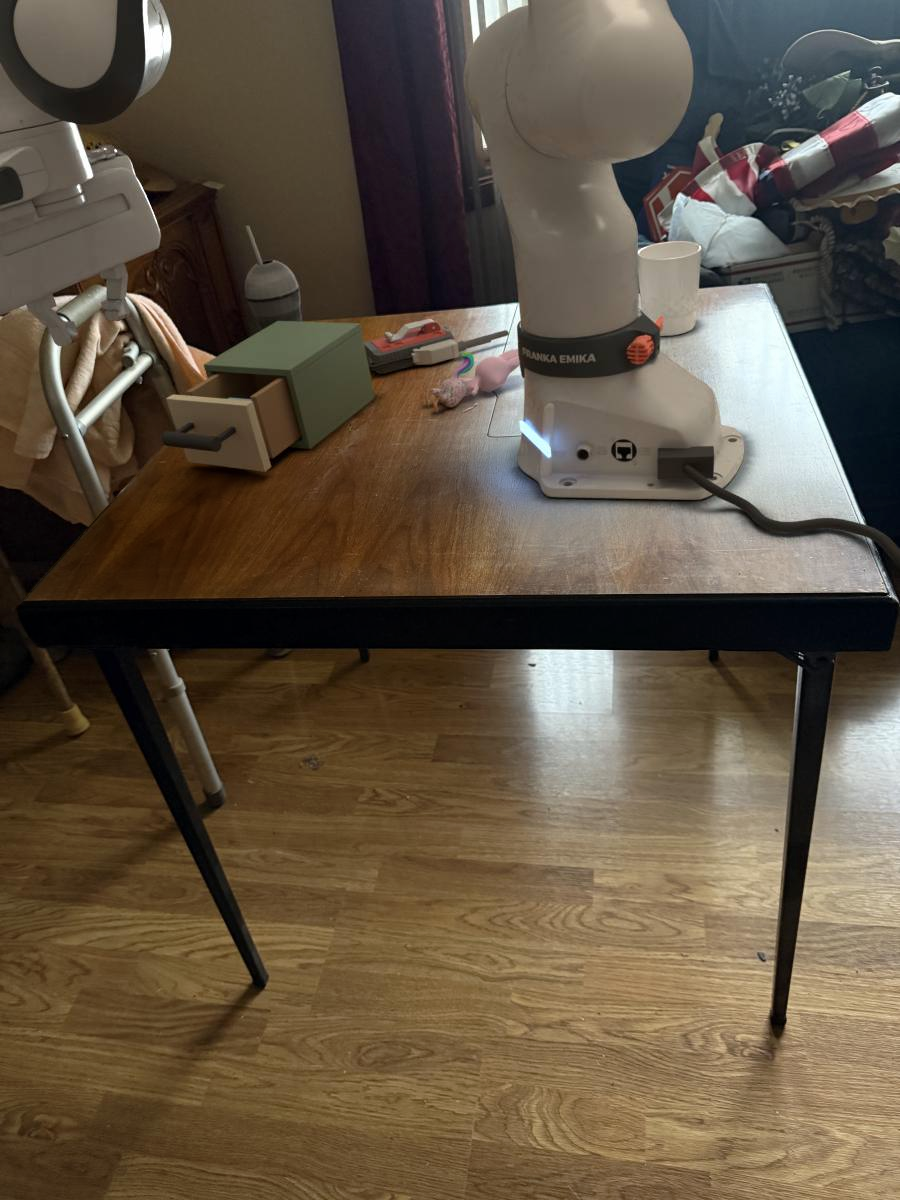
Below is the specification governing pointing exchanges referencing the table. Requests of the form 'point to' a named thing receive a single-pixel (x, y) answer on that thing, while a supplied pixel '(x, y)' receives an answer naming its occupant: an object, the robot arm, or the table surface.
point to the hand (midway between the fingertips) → (94, 330)
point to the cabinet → (308, 371)
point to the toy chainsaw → (418, 346)
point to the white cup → (670, 284)
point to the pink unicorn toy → (486, 376)
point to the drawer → (234, 420)
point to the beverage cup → (272, 291)
